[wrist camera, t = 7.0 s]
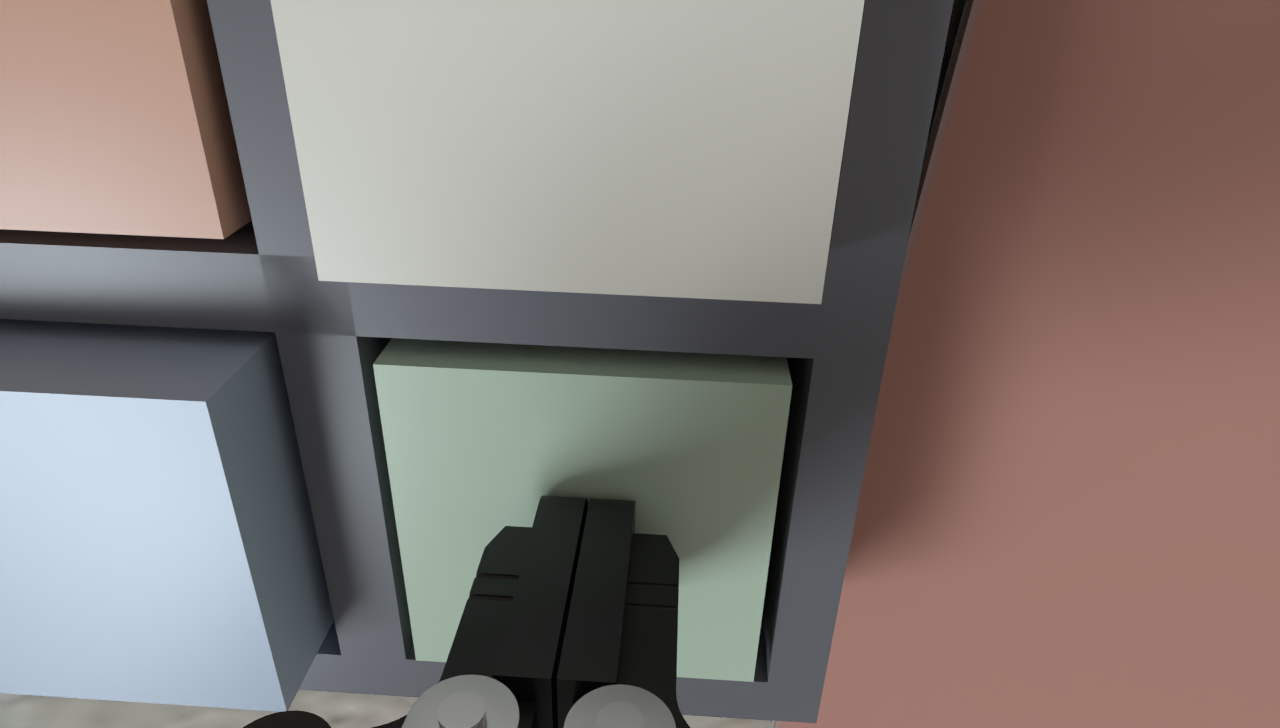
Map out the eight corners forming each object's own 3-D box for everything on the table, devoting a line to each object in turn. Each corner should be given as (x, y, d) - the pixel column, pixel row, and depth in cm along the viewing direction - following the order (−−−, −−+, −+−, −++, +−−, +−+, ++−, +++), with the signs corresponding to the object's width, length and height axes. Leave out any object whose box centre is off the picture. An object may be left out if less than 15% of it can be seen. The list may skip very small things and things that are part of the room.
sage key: (463, 532, 18) (415, 660, 15) (439, 272, 15) (372, 364, 12) (742, 548, 17) (753, 681, 14) (771, 288, 15) (792, 385, 12)
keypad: (107, 518, 20) (-40, 667, 16) (-208, -367, 12) (-650, -510, 8) (790, 558, 19) (816, 723, 15) (924, -348, 11) (1048, -493, 7)
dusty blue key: (75, 549, 17) (-63, 688, 14) (-30, 279, 14) (-232, 378, 11) (361, 566, 17) (286, 712, 14) (313, 295, 14) (205, 401, 11)
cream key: (407, 195, 13) (318, 280, 10) (354, -282, 10) (205, -372, 7) (789, 212, 13) (820, 304, 10) (846, -271, 10) (915, -359, 7)
